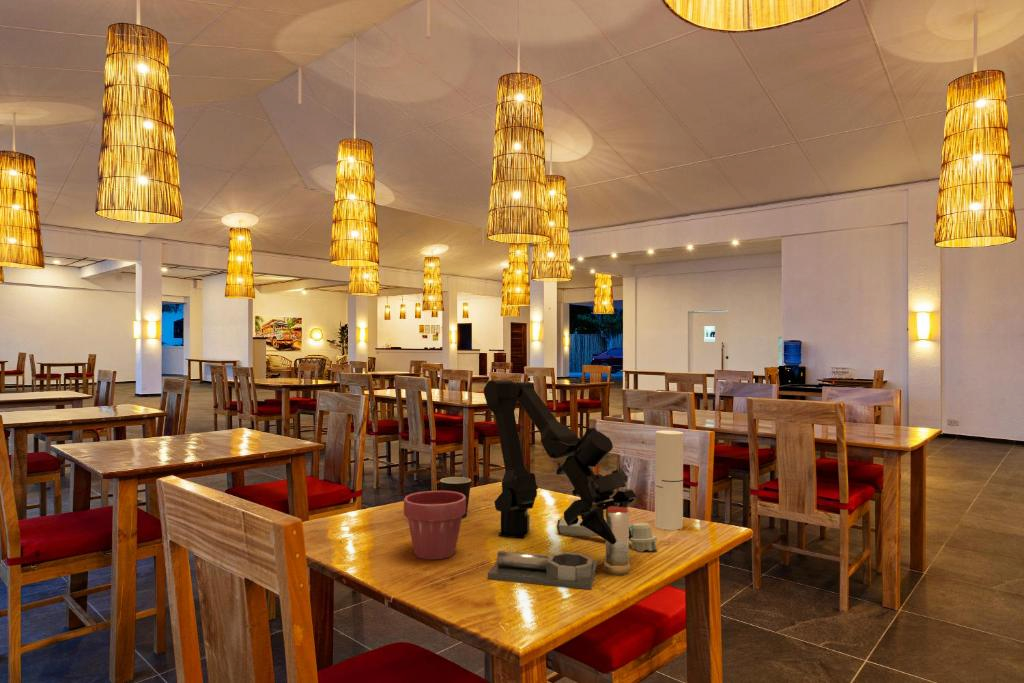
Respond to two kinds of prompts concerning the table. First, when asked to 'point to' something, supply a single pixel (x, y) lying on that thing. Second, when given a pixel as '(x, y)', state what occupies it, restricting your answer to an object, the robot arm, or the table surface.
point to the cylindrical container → (669, 480)
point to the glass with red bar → (618, 541)
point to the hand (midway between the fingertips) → (622, 540)
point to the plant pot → (434, 522)
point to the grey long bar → (639, 540)
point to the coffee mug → (457, 487)
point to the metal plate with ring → (545, 569)
